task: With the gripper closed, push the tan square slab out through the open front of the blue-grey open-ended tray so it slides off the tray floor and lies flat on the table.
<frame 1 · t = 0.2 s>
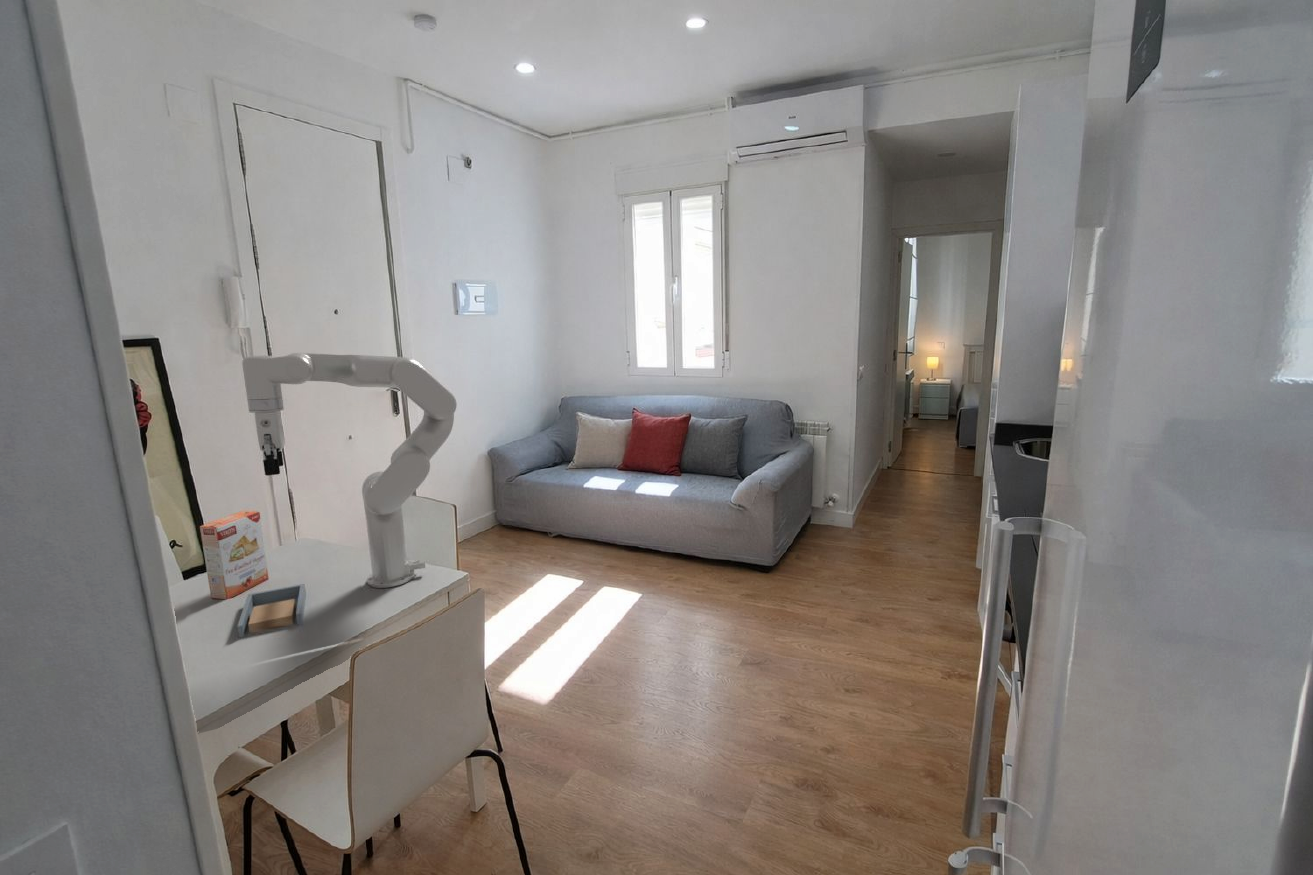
hand: (274, 470, 158), 36 cm above the table, tool pointing down, fingers open, 9 cm apart
cracker box: (241, 589, 172), on the table
blue-grey open-ended tray: (275, 615, 155), on the table
tan square slab: (273, 620, 152), resting on blue-grey open-ended tray
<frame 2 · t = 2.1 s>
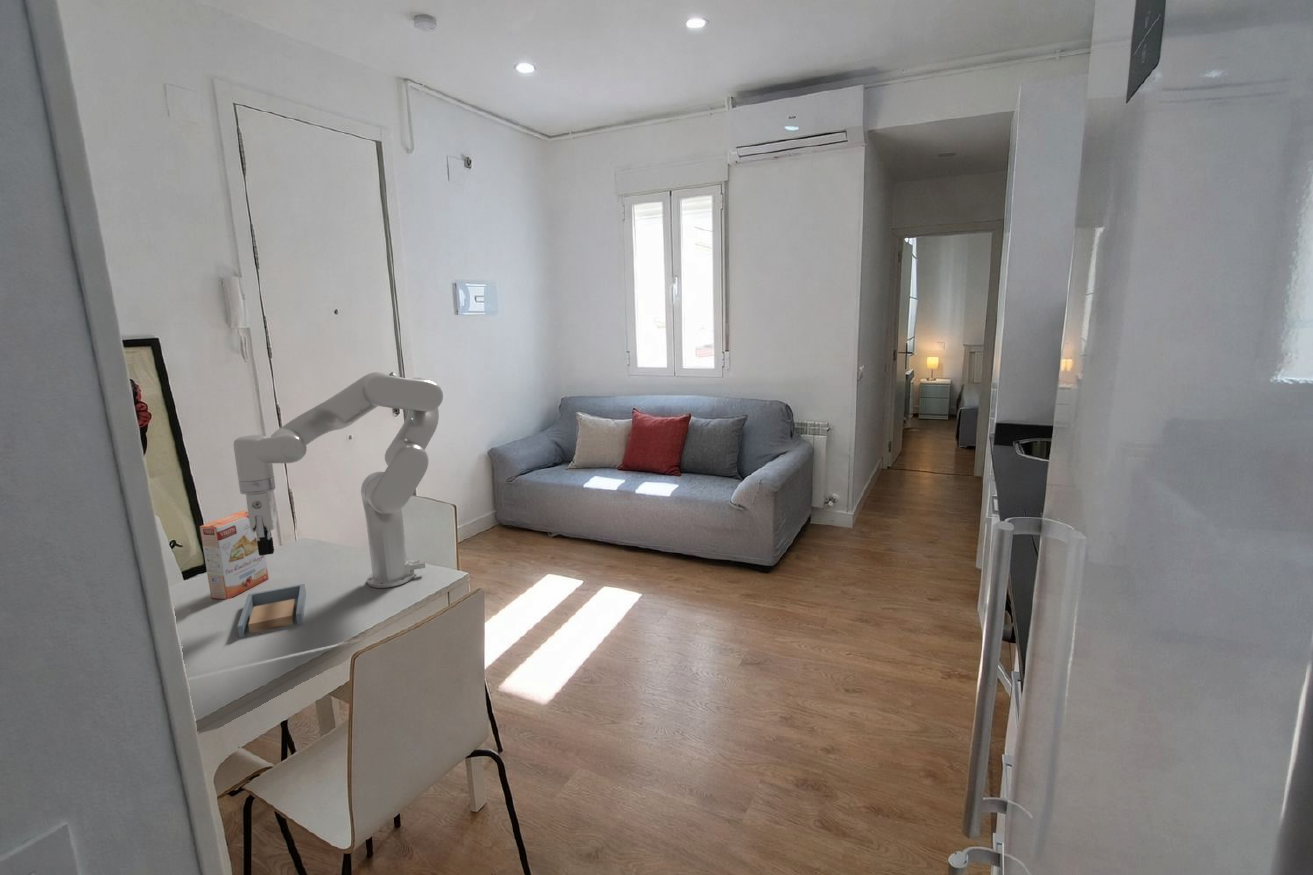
hand: (266, 553, 156), 15 cm above the table, tool pointing down, fingers closed
nothing on the table moved.
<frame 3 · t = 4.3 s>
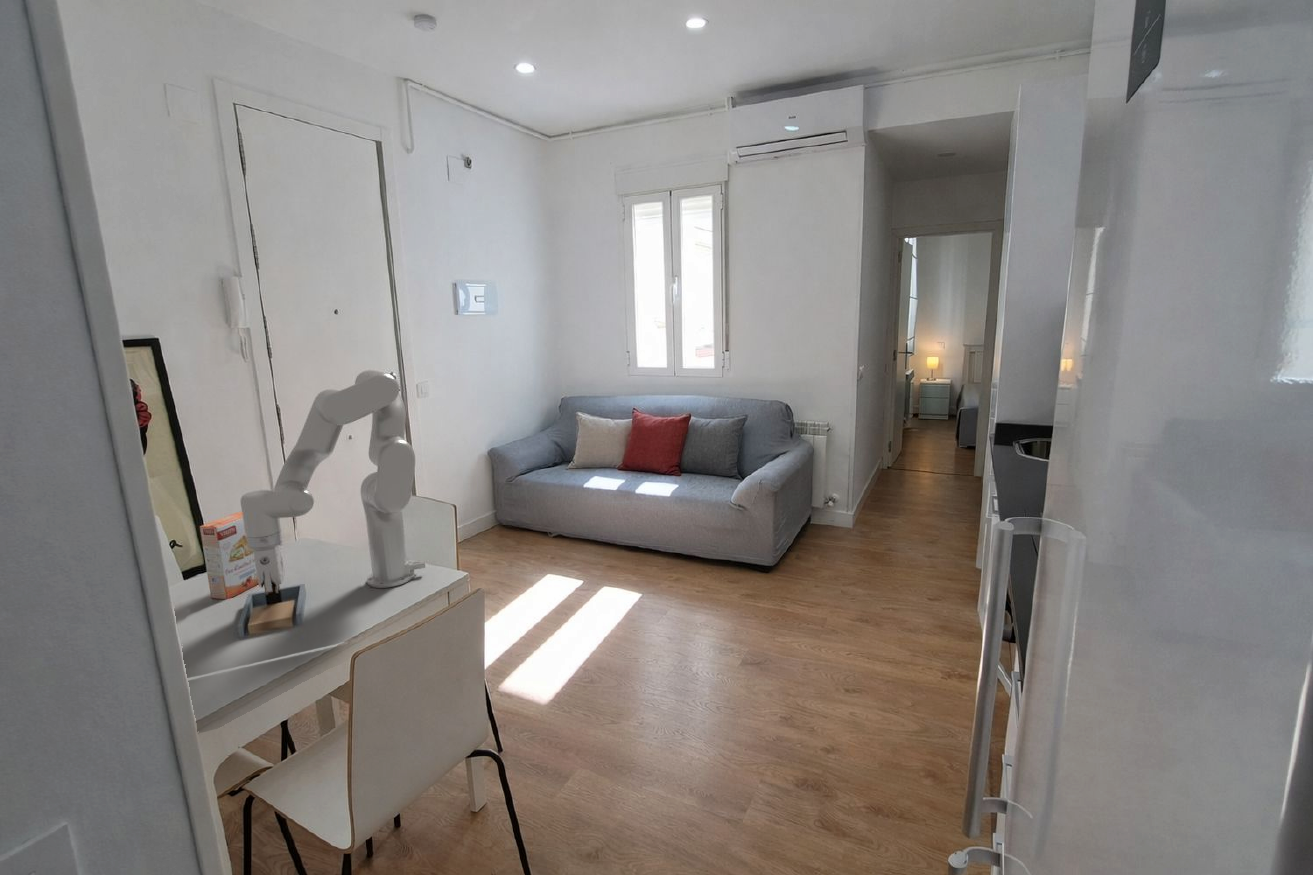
hand: (275, 606, 157), 2 cm above the table, tool pointing down, fingers closed
tan square slab: (273, 621, 152), resting on blue-grey open-ended tray, touching gripper
everything else where it was.
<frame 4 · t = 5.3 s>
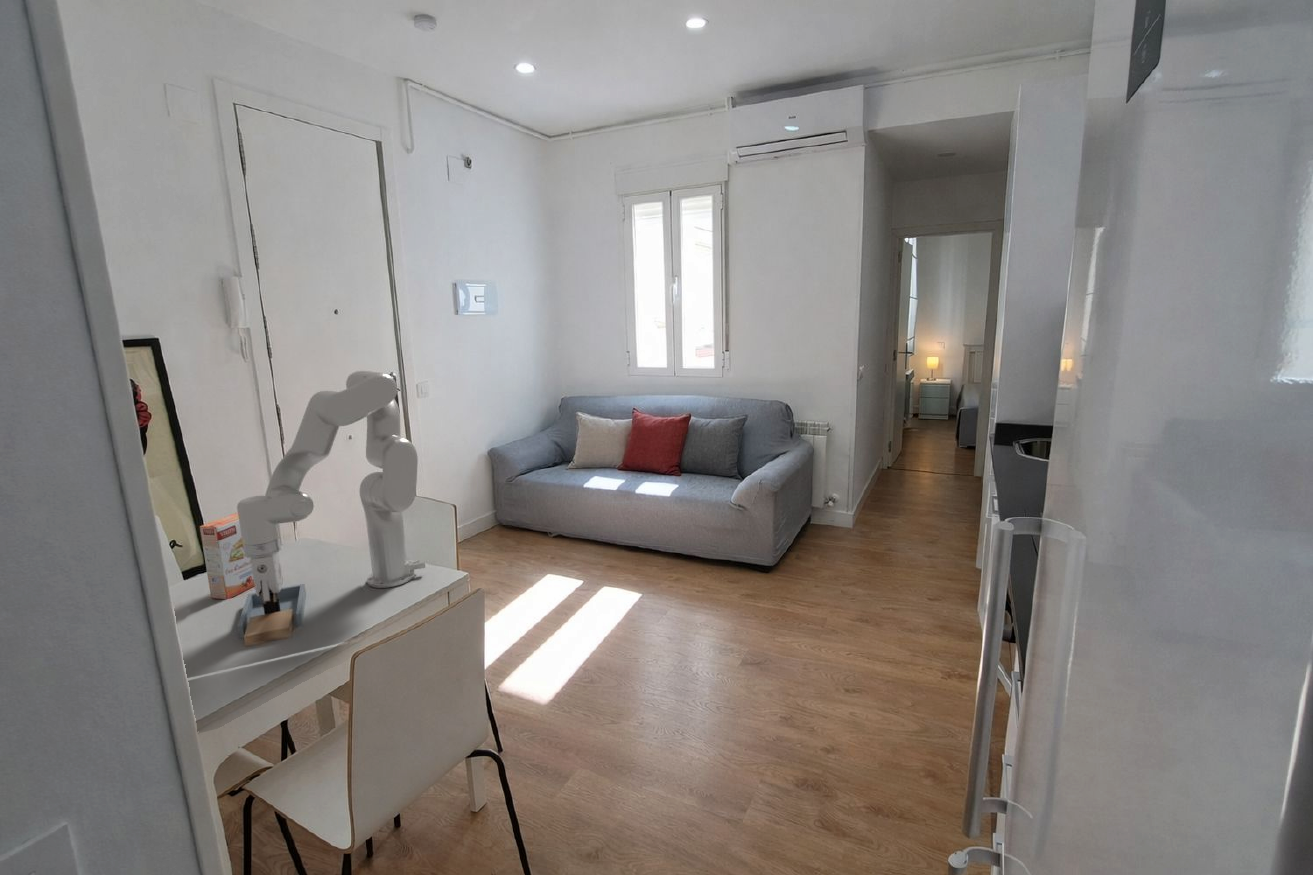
hand: (273, 615, 152), 2 cm above the table, tool pointing down, fingers closed
tan square slab: (270, 631, 147), point 1 cm above the table, touching gripper
everything else where it was.
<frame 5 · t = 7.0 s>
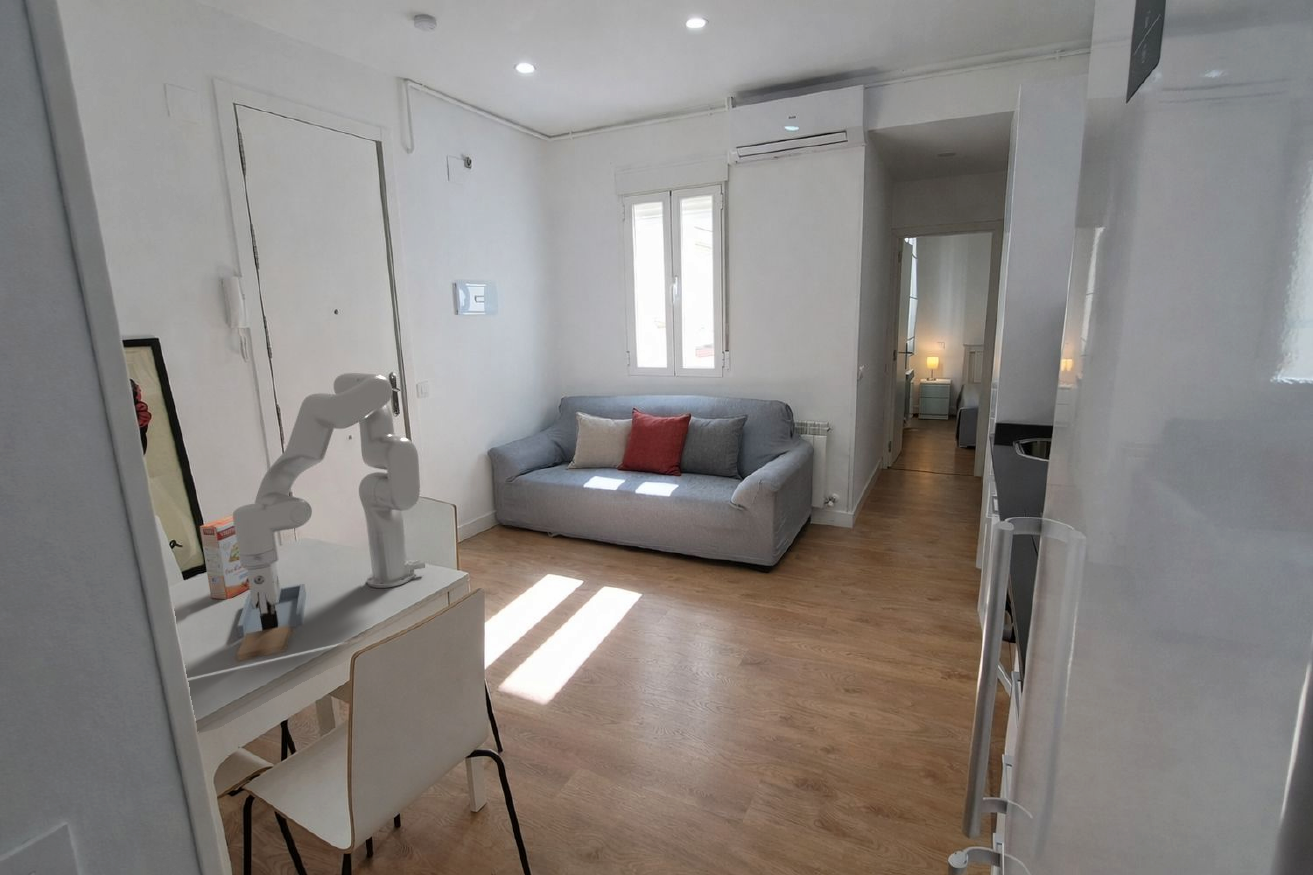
hand: (270, 628, 146), 2 cm above the table, tool pointing down, fingers closed
tan square slab: (266, 648, 141), on the table
everything else where it was.
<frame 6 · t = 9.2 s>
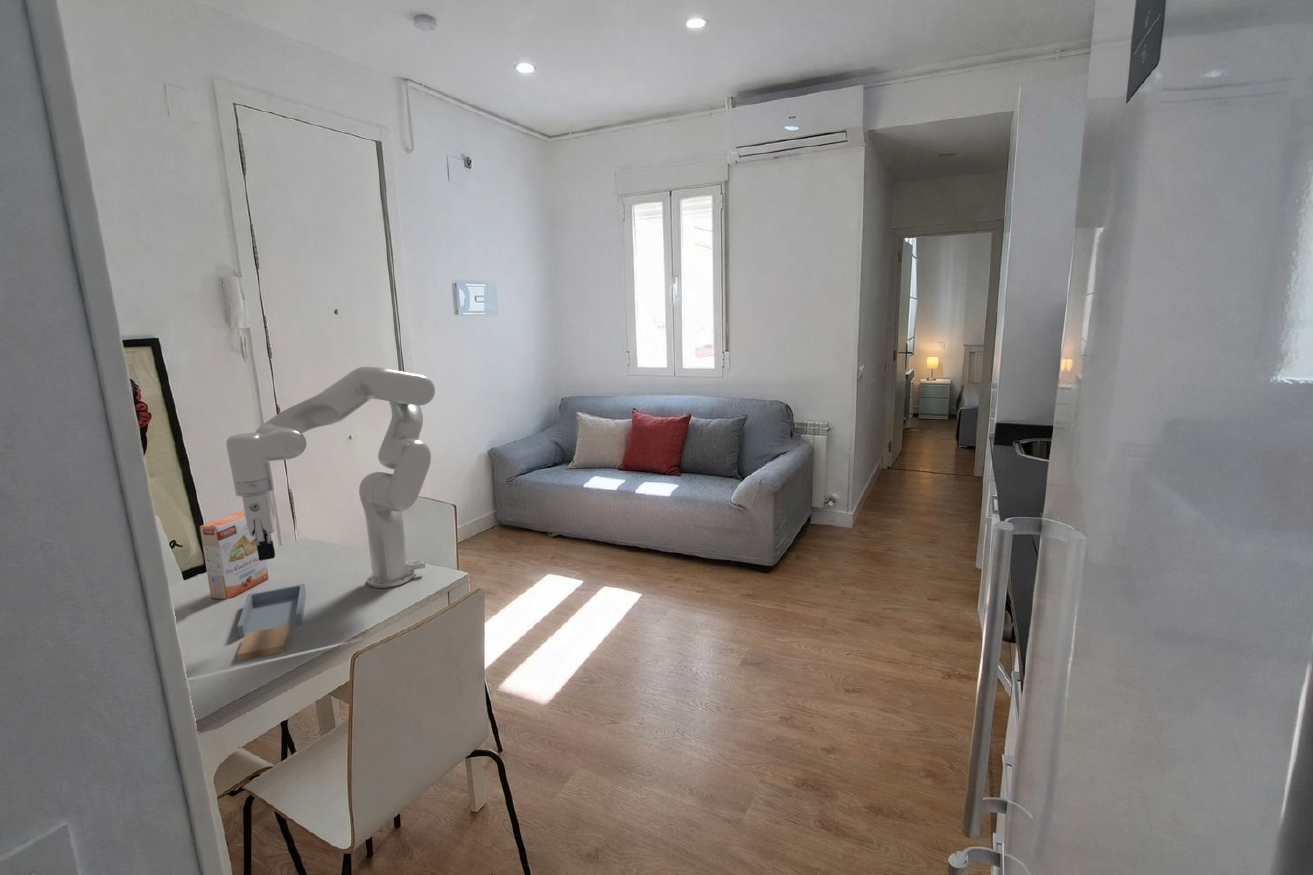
hand: (267, 558, 147), 18 cm above the table, tool pointing down, fingers closed
nothing on the table moved.
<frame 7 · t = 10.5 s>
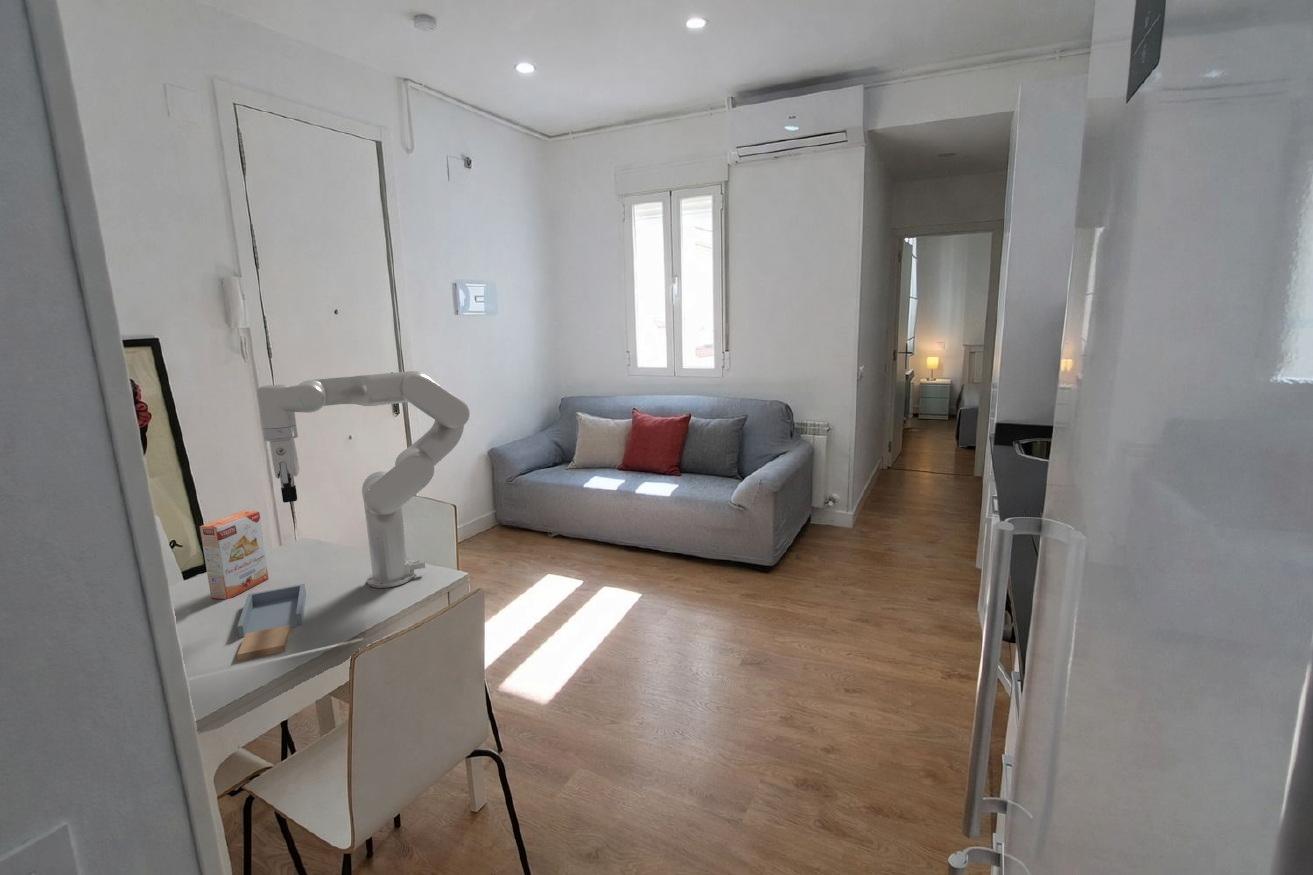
hand: (290, 500, 161), 27 cm above the table, tool pointing down, fingers closed
nothing on the table moved.
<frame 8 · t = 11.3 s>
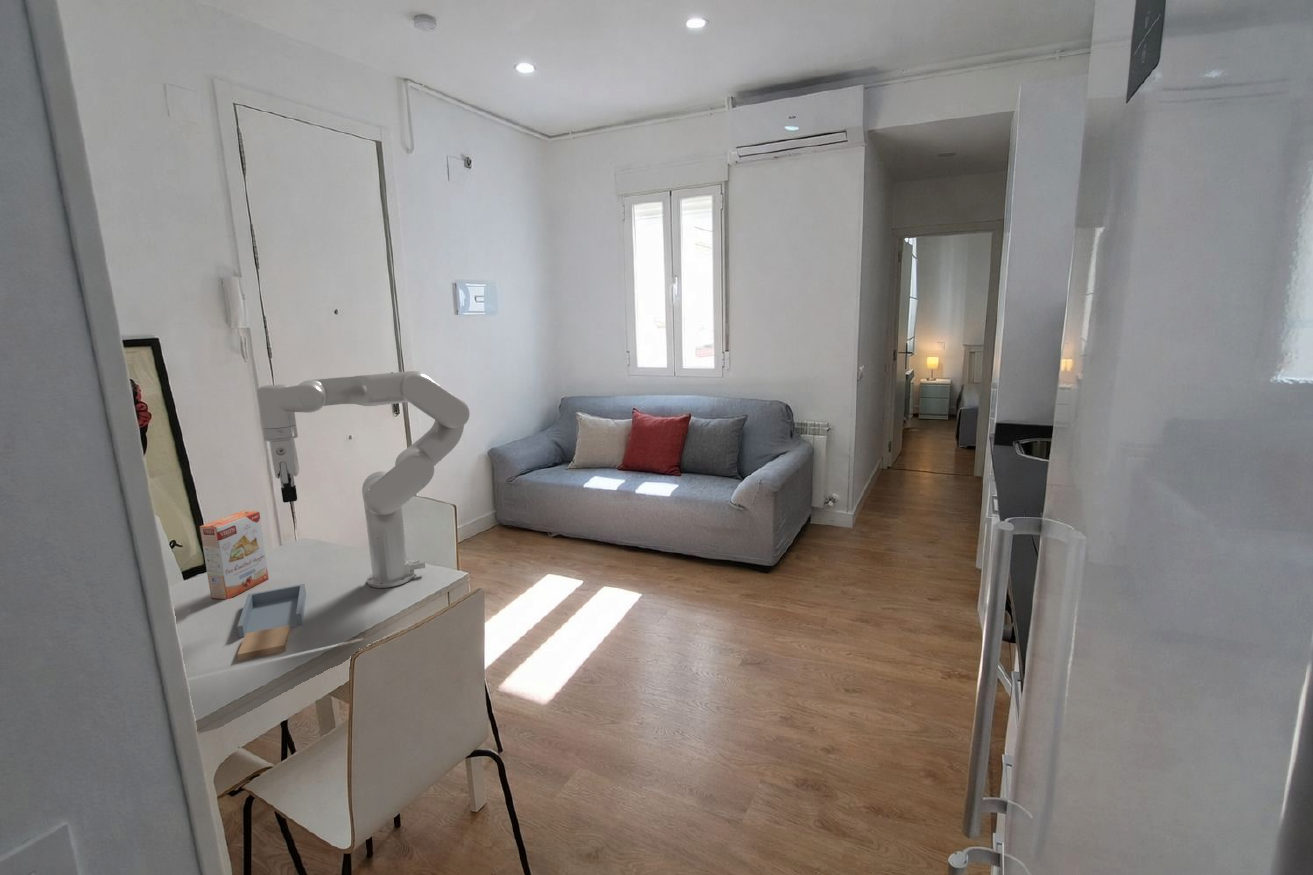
hand: (290, 500, 161), 27 cm above the table, tool pointing down, fingers closed
nothing on the table moved.
at the end: tan square slab inside the target area (2.5 cm from its centre), on the table; tan square slab tilted 0°; tan square slab touching table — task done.
